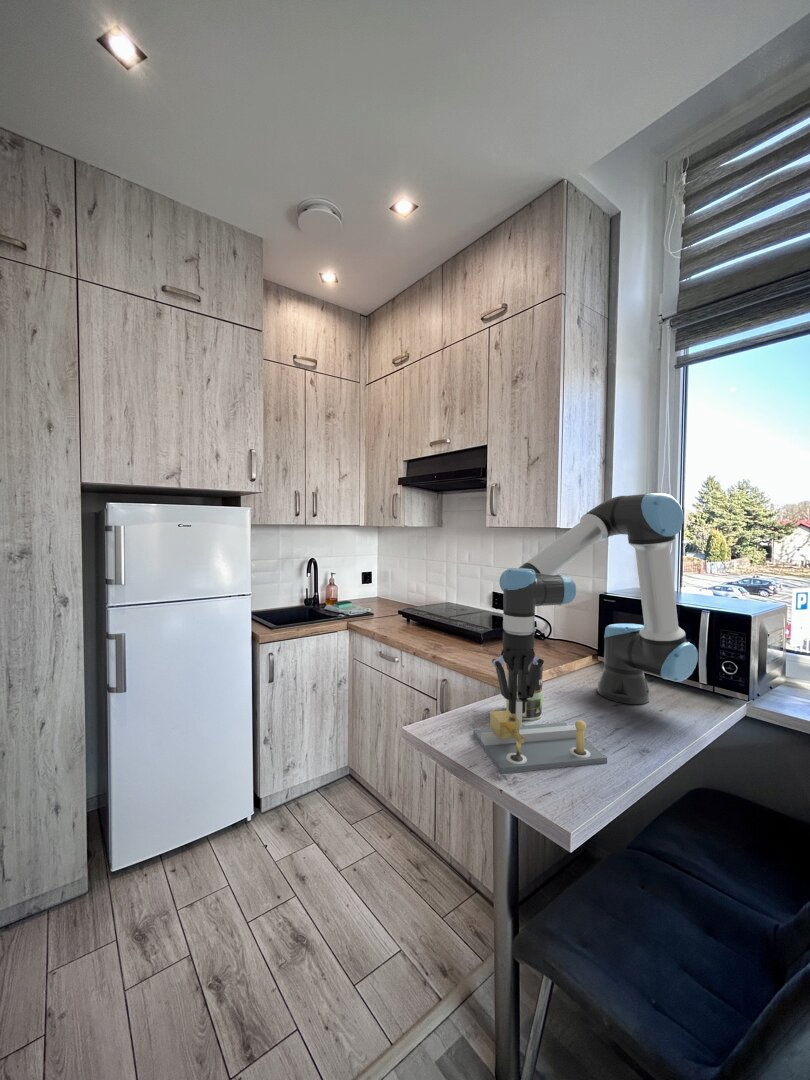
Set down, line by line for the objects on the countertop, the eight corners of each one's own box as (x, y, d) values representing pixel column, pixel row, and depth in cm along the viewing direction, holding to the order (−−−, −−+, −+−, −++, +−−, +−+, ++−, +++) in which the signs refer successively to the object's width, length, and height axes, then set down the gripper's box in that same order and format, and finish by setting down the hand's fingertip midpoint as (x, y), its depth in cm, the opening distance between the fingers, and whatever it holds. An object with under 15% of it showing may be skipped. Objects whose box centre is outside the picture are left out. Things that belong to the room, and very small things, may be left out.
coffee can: (540, 707, 130) (541, 660, 129) (544, 722, 120) (545, 672, 119) (505, 704, 132) (505, 658, 131) (506, 718, 122) (506, 669, 121)
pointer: (508, 731, 110) (508, 710, 110) (531, 757, 97) (532, 733, 97) (490, 733, 109) (490, 711, 109) (511, 759, 97) (511, 735, 96)
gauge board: (564, 726, 117) (565, 694, 117) (607, 762, 99) (608, 725, 99) (473, 734, 112) (473, 701, 112) (501, 773, 95) (501, 734, 94)
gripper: (535, 626, 111) (533, 717, 112) (487, 628, 109) (486, 720, 109) (550, 634, 104) (548, 730, 104) (499, 636, 101) (497, 734, 102)
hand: (516, 725), depth 107 cm, fingers closed
